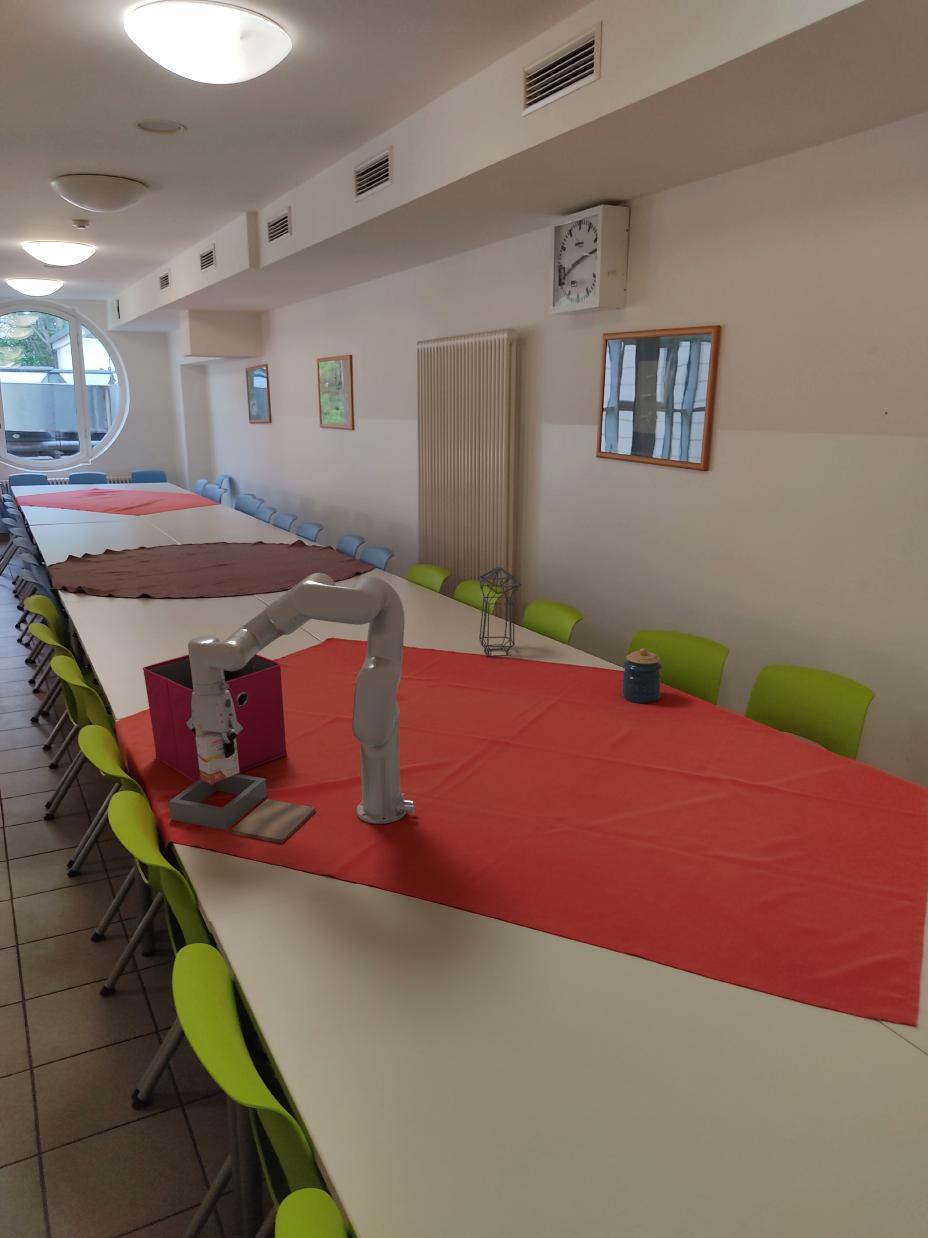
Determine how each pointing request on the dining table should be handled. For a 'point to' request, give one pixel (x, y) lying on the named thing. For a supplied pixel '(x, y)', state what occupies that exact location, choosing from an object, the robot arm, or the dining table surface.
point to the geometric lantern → (492, 573)
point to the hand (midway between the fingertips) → (217, 753)
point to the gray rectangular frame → (194, 812)
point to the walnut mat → (273, 821)
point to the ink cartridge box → (214, 757)
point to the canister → (642, 677)
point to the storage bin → (253, 703)
